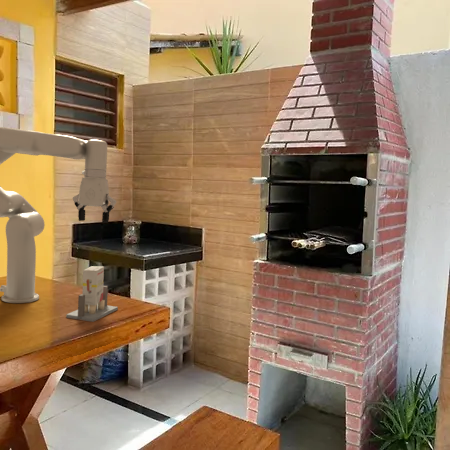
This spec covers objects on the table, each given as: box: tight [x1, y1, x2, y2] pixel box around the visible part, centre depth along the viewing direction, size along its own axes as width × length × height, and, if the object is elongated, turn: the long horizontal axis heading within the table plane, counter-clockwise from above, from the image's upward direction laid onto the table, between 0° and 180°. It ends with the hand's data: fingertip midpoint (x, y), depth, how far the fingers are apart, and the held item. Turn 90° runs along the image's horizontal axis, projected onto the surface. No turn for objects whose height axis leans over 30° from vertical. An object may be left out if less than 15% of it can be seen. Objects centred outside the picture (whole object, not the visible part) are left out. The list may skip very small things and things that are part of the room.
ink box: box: [81, 265, 105, 305], centre depth 157 cm, size 9×5×12 cm, turn 178°
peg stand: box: [65, 285, 119, 322], centre depth 158 cm, size 10×16×8 cm, turn 164°
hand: (93, 221), depth 168 cm, fingers open, 9 cm apart
